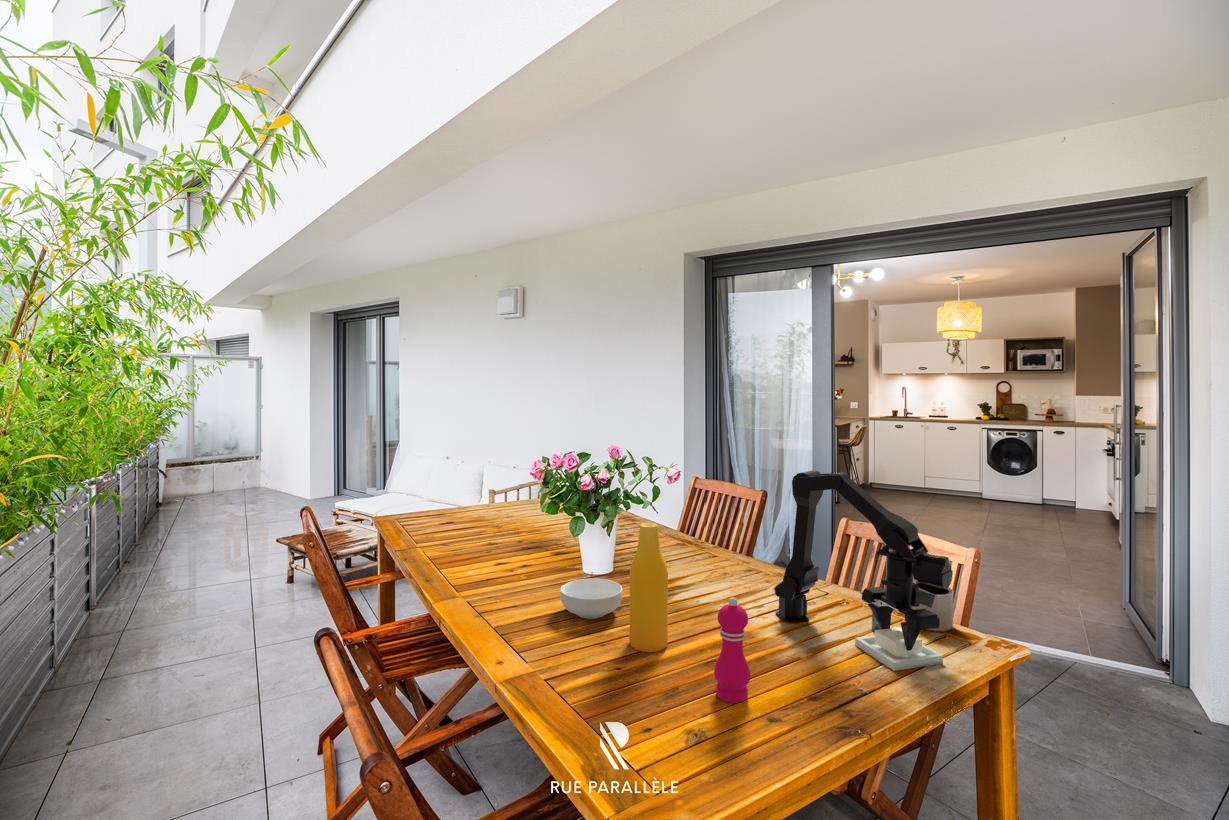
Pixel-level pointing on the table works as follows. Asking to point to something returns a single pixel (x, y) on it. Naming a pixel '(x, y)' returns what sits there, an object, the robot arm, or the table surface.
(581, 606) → the cereal bowl
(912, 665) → the tray
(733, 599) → the pepper mill
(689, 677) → the table surface
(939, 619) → the robot arm
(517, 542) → the table surface
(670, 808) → the table surface
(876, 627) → the post
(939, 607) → the planter
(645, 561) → the beer bottle
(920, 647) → the white block
